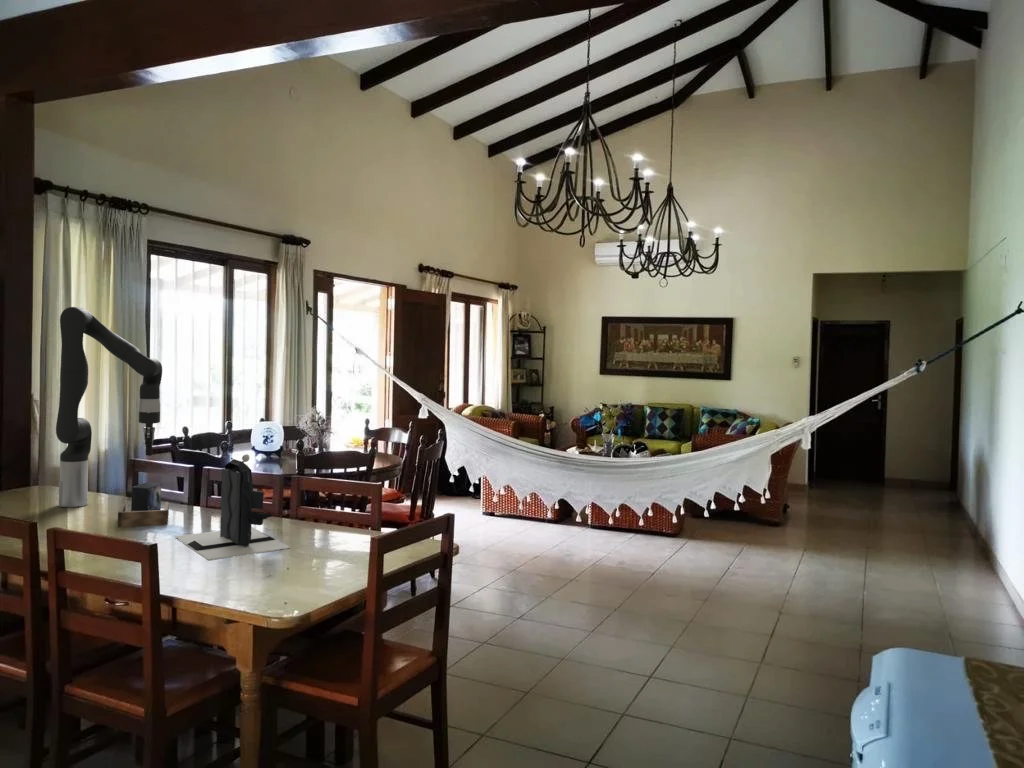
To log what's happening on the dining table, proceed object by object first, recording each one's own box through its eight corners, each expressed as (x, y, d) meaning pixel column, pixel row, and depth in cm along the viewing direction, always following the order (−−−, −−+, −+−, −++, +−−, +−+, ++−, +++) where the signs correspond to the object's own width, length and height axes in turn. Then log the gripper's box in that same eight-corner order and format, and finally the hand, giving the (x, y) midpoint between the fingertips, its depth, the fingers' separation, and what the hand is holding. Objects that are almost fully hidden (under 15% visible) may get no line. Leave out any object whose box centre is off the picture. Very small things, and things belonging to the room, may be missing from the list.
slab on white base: (174, 538, 247) (176, 451, 246) (251, 528, 264) (253, 447, 263) (208, 561, 223) (210, 464, 222) (290, 549, 239) (292, 459, 238)
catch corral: (117, 527, 258) (118, 512, 258) (121, 517, 272) (121, 504, 272) (167, 524, 264) (167, 510, 264) (168, 515, 278) (168, 502, 278)
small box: (147, 516, 276) (148, 487, 276) (130, 515, 276) (130, 487, 276) (161, 510, 287) (162, 482, 286) (144, 509, 287) (145, 482, 286)
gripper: (139, 409, 296) (139, 453, 297) (137, 411, 284) (136, 457, 285) (160, 409, 299) (160, 452, 300) (159, 411, 287) (158, 457, 288)
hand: (148, 455), depth 293 cm, fingers closed
